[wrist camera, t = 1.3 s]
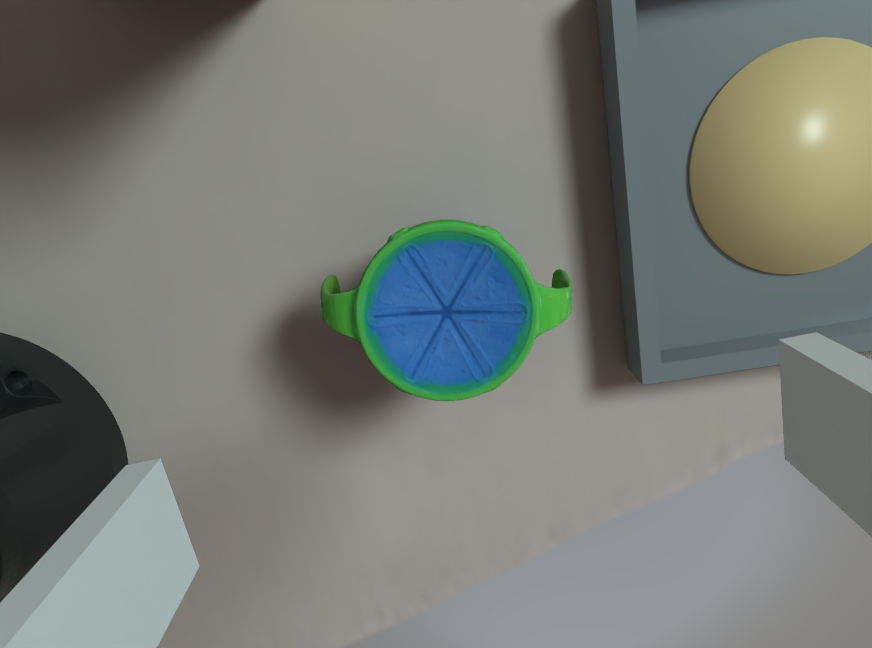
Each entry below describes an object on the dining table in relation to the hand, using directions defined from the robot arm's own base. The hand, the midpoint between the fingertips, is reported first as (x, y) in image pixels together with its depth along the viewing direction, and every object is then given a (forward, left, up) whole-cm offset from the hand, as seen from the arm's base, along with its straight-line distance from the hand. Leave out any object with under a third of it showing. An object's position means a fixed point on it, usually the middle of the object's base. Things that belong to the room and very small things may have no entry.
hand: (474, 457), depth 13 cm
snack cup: (-1, -1, -21) cm, 21 cm away
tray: (+17, +2, -21) cm, 27 cm away
